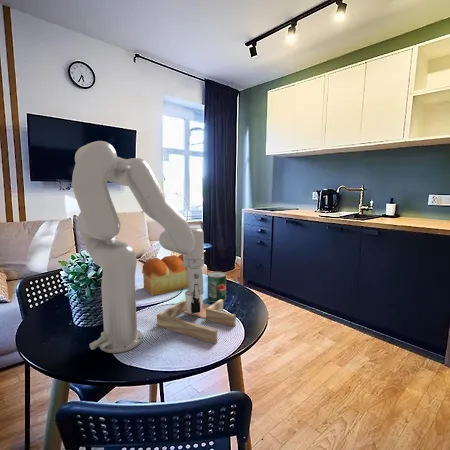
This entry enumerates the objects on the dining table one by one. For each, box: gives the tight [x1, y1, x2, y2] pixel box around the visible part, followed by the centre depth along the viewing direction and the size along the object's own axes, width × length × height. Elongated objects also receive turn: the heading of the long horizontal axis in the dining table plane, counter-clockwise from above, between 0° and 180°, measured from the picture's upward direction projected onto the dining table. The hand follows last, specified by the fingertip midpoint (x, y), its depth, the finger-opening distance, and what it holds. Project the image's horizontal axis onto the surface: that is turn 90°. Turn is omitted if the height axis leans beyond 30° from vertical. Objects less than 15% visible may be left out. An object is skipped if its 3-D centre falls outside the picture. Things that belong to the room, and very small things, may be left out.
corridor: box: [156, 298, 237, 345], centre depth 102 cm, size 23×24×4 cm
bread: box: [141, 254, 188, 296], centre depth 136 cm, size 25×12×15 cm, turn 126°
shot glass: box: [184, 289, 204, 314], centre depth 105 cm, size 7×7×7 cm
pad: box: [183, 303, 212, 320], centre depth 110 cm, size 10×10×1 cm
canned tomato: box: [207, 271, 227, 303], centre depth 121 cm, size 8×8×11 cm
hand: (194, 308), depth 105 cm, fingers closed on shot glass, 5 cm apart
